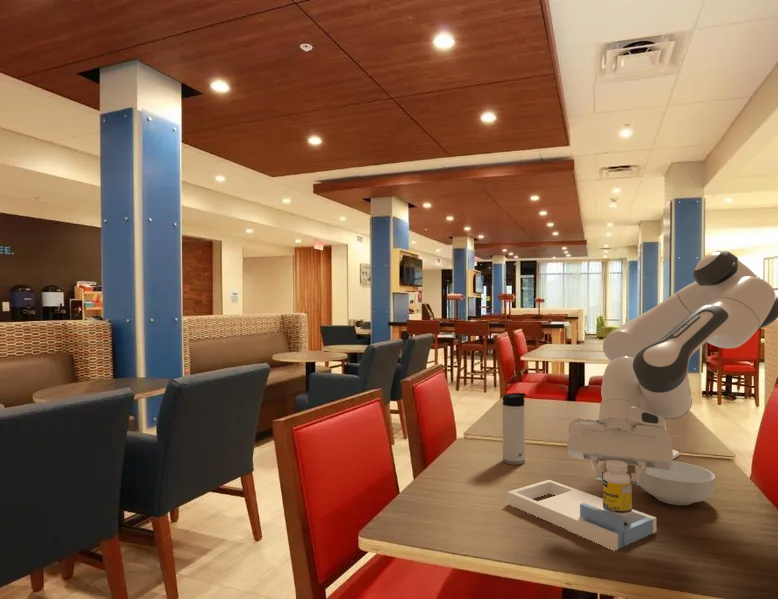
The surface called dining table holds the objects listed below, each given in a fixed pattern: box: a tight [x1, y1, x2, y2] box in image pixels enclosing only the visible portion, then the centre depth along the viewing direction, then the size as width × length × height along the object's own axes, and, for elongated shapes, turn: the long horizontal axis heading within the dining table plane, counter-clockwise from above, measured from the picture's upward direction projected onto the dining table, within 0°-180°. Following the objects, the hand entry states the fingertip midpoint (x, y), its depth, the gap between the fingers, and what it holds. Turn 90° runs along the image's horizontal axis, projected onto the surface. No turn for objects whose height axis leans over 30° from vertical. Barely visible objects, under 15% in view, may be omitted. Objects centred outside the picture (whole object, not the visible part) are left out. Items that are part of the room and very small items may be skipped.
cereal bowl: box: [634, 460, 716, 506], centre depth 124 cm, size 17×17×7 cm
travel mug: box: [502, 392, 527, 466], centre depth 153 cm, size 6×7×20 cm
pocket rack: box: [507, 479, 657, 552], centre depth 114 cm, size 14×27×6 cm, turn 33°
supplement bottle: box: [602, 460, 633, 516], centre depth 106 cm, size 5×5×10 cm
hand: (616, 481), depth 105 cm, fingers closed on supplement bottle, 5 cm apart
